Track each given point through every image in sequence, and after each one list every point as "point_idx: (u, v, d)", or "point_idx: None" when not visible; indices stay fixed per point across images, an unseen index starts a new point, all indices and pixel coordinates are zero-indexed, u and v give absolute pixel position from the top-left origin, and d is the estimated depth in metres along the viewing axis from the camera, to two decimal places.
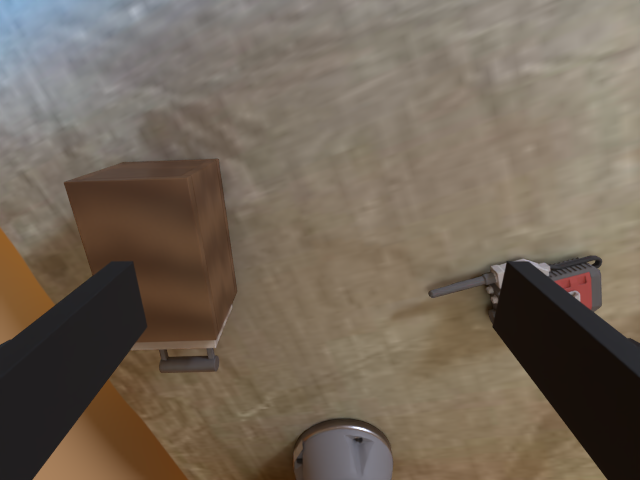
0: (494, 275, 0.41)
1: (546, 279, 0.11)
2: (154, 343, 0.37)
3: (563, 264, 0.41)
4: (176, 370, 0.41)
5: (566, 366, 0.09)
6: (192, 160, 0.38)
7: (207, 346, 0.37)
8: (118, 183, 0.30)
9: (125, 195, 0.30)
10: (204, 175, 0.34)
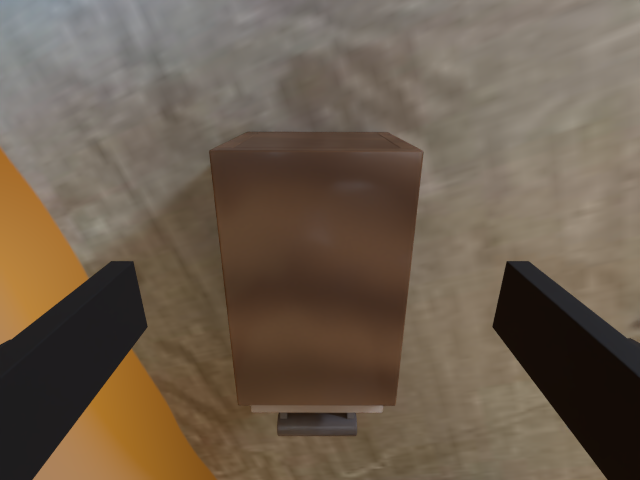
0: None
1: (546, 279, 0.11)
2: None
3: None
4: (301, 434, 0.29)
5: (566, 366, 0.09)
6: (352, 132, 0.26)
7: (371, 409, 0.25)
8: (303, 156, 0.17)
9: (310, 177, 0.18)
10: None
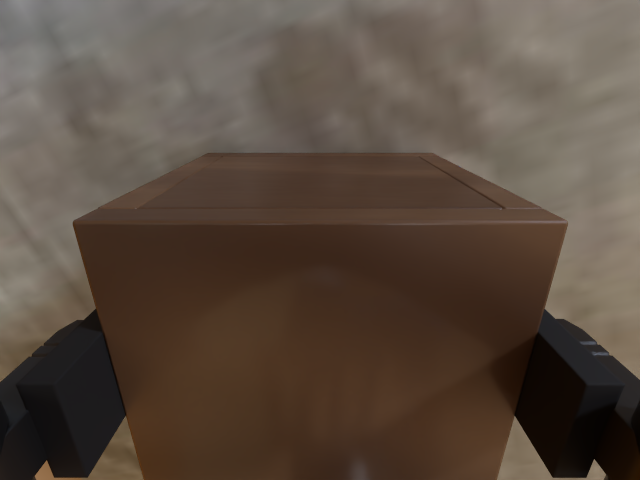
0: None
1: None
2: None
3: None
4: None
5: None
6: (377, 154, 0.16)
7: None
8: (289, 233, 0.07)
9: (306, 277, 0.08)
10: None
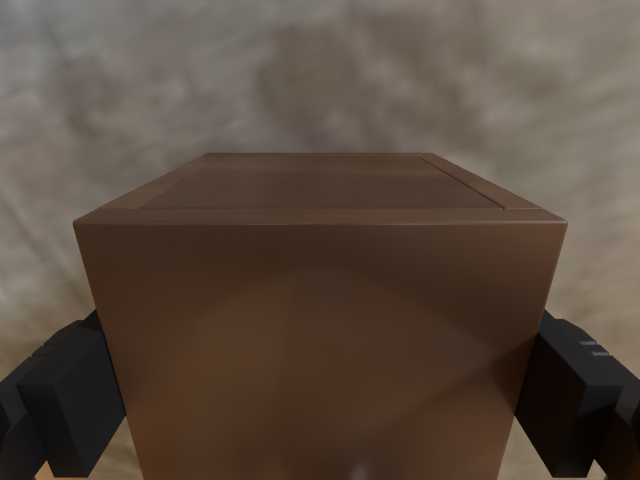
0: None
1: None
2: None
3: None
4: None
5: None
6: (377, 154, 0.16)
7: None
8: (289, 233, 0.07)
9: (306, 277, 0.08)
10: None
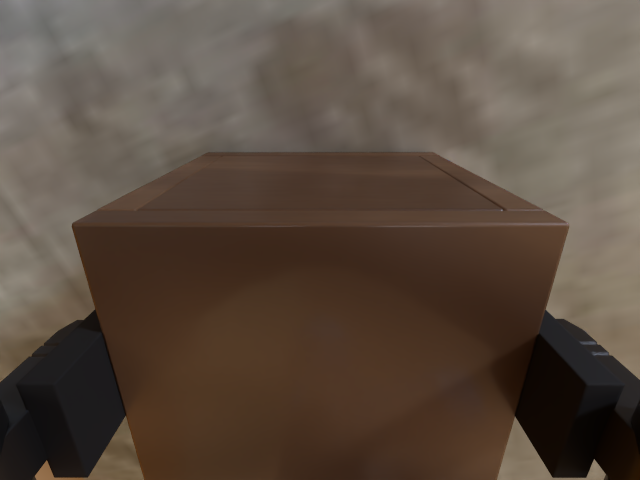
0: None
1: None
2: None
3: None
4: None
5: None
6: (377, 154, 0.16)
7: None
8: (289, 235, 0.07)
9: (306, 279, 0.08)
10: None
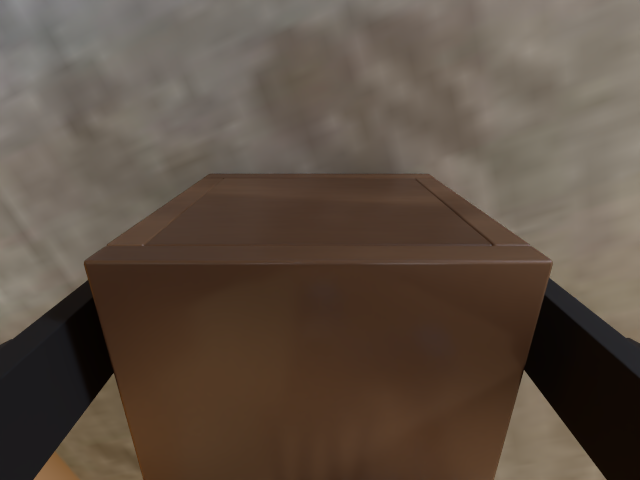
0: None
1: None
2: None
3: None
4: None
5: (565, 366, 0.09)
6: (374, 175, 0.16)
7: None
8: (290, 272, 0.08)
9: (305, 312, 0.08)
10: None
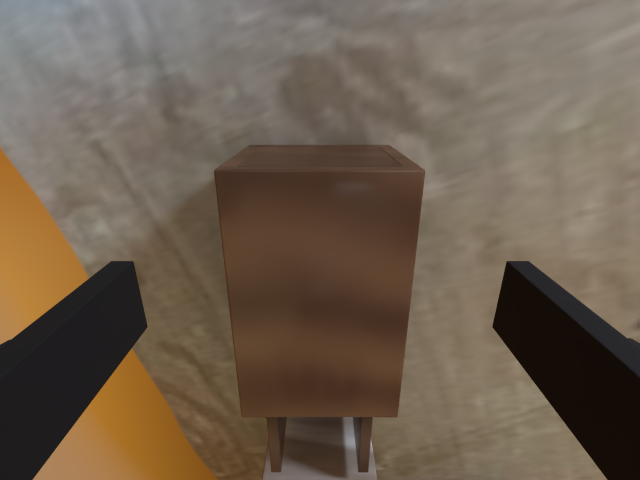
0: None
1: (546, 279, 0.11)
2: None
3: None
4: None
5: (566, 366, 0.09)
6: (354, 146, 0.26)
7: None
8: (306, 175, 0.17)
9: (313, 196, 0.18)
10: None
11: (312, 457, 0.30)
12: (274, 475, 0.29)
